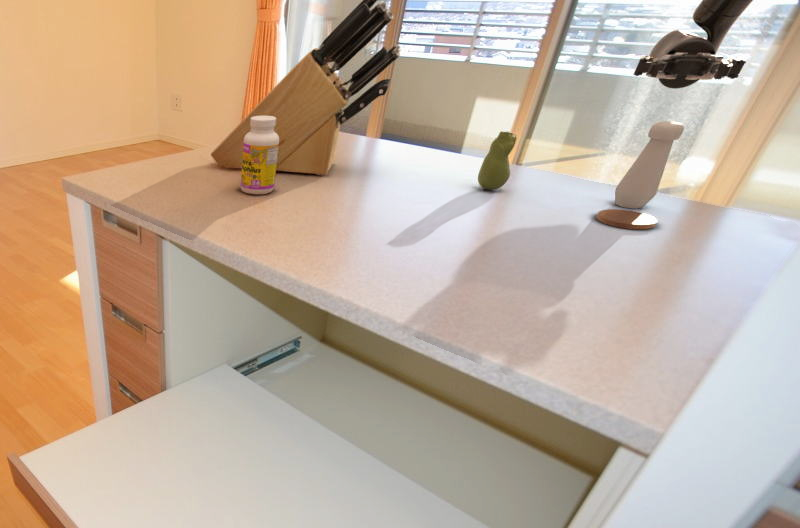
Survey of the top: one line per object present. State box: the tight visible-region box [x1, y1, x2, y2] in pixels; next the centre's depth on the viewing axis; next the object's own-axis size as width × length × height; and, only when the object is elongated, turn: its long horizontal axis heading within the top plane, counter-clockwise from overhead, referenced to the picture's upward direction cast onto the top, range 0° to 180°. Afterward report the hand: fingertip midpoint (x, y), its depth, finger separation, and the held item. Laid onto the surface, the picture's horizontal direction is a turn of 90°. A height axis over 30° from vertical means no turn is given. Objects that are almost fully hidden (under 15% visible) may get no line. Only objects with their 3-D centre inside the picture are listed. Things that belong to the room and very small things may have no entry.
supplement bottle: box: [239, 116, 279, 196], centre depth 103 cm, size 7×7×13 cm
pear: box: [477, 130, 518, 191], centre depth 102 cm, size 6×5×10 cm
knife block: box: [210, 0, 402, 176], centre depth 111 cm, size 11×35×31 cm, turn 69°
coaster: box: [595, 208, 658, 231], centre depth 89 cm, size 8×8×1 cm
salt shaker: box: [614, 120, 685, 210], centre depth 91 cm, size 6×6×13 cm
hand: (688, 70), depth 89 cm, fingers open, 8 cm apart
